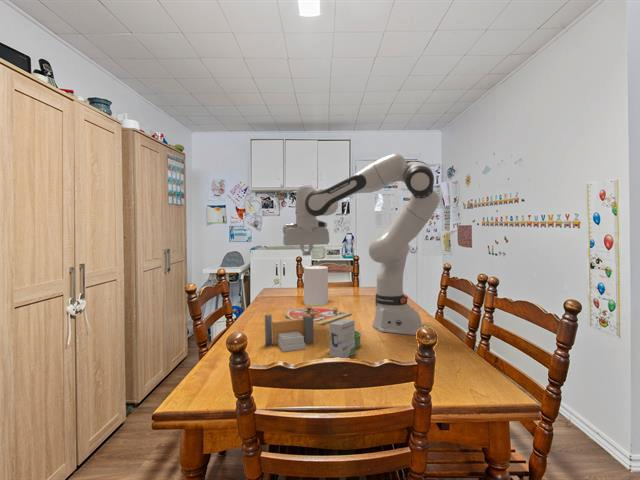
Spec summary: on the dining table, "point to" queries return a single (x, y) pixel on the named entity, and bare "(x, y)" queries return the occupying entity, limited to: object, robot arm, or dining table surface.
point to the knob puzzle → (317, 314)
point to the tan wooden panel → (286, 328)
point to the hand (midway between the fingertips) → (306, 255)
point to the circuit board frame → (290, 335)
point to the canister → (315, 285)
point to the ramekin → (357, 338)
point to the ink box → (342, 338)
